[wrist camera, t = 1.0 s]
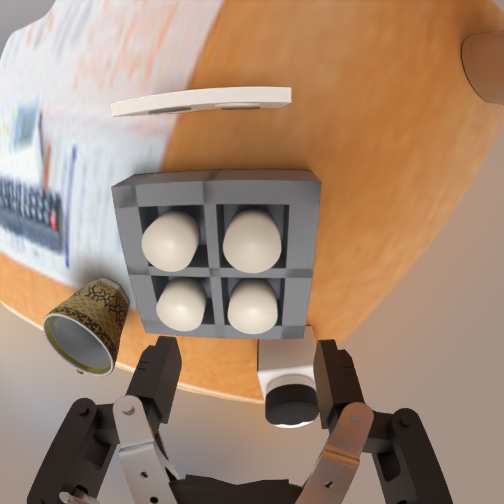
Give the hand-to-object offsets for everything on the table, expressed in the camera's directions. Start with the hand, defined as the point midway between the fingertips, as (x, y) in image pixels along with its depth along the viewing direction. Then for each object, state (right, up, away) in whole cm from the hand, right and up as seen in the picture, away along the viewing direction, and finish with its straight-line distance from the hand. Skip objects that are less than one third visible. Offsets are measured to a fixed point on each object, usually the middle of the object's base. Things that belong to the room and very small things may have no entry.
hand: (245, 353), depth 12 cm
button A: (0, +6, +12) cm, 14 cm away
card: (-3, +18, +11) cm, 22 cm away
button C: (-7, +6, +12) cm, 15 cm away
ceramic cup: (-20, -3, +22) cm, 30 cm away
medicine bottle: (+5, -8, +24) cm, 26 cm away
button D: (-7, 0, +16) cm, 17 cm away
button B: (0, 0, +15) cm, 15 cm away
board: (-3, +5, +17) cm, 18 cm away
